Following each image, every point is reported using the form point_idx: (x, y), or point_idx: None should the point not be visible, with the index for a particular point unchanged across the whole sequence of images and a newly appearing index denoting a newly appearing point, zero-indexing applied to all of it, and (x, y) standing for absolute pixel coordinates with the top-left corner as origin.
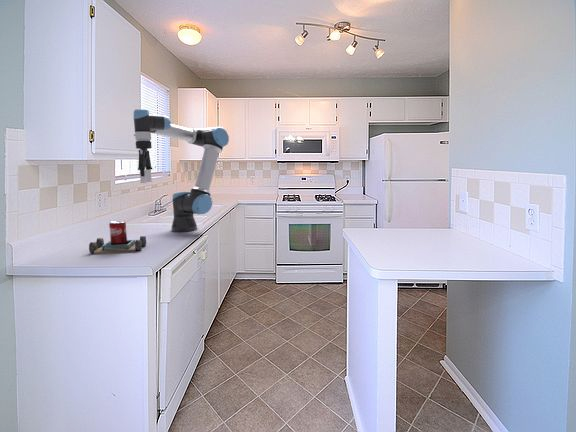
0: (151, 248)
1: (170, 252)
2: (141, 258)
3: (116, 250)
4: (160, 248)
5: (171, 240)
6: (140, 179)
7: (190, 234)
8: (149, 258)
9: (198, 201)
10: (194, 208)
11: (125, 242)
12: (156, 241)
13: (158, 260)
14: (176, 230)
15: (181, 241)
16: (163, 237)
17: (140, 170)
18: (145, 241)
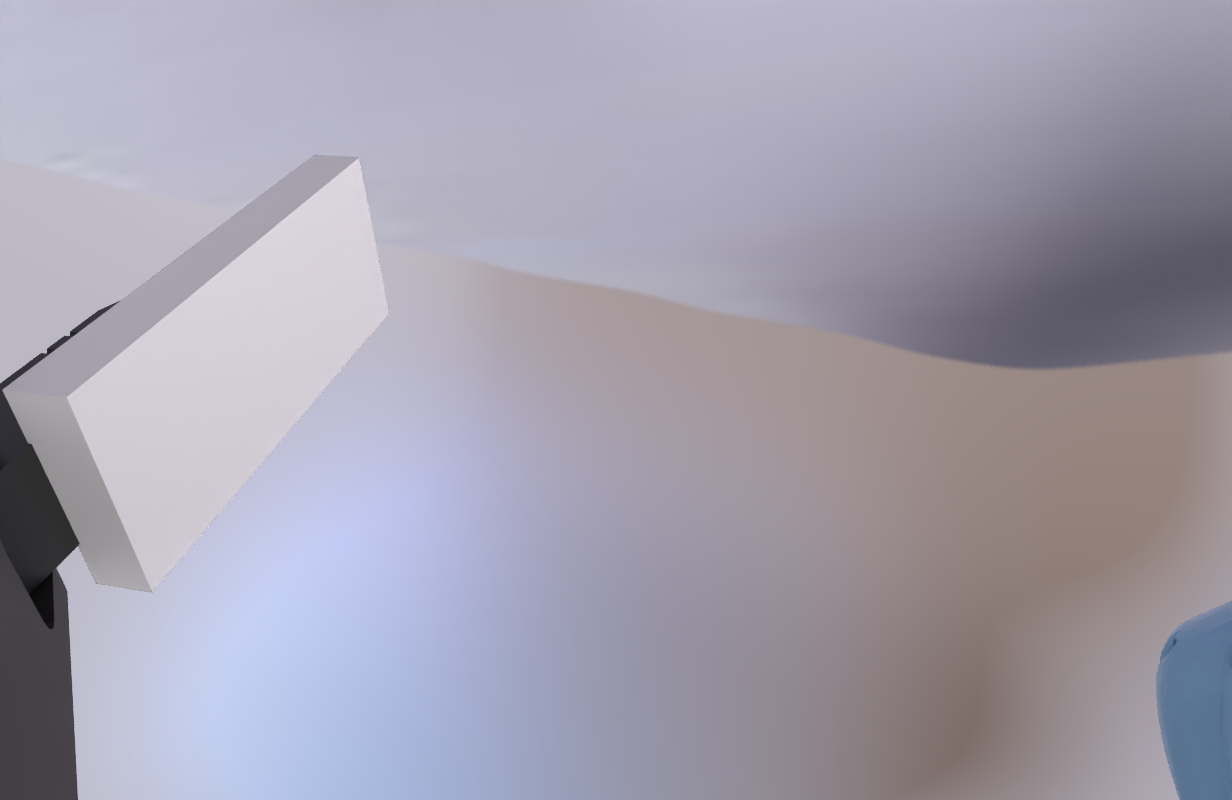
0: (410, 17)
1: None
2: (37, 2)
3: None
4: (402, 109)
5: (795, 176)
6: (252, 207)
7: (1111, 358)
8: (48, 71)
9: (1169, 757)
10: (1203, 631)
11: None
12: (792, 7)
13: (7, 149)
14: None
15: (702, 277)
16: (1058, 58)
17: (29, 410)
18: None
